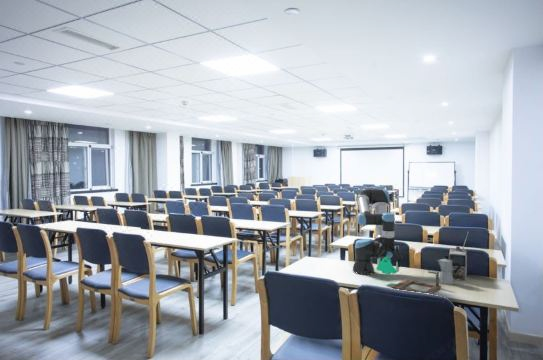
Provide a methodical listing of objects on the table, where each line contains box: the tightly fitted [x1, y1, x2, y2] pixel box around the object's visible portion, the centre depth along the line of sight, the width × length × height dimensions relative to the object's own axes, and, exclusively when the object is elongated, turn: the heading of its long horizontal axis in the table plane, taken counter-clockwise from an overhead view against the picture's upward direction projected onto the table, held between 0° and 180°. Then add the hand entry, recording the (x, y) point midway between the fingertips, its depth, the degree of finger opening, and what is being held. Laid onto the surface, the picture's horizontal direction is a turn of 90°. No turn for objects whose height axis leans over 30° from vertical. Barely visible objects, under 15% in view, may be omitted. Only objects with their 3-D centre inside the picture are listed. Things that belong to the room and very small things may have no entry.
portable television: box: [448, 231, 469, 281], centre depth 250 cm, size 12×24×30 cm, turn 152°
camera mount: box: [375, 257, 398, 275], centre depth 236 cm, size 12×8×10 cm, turn 50°
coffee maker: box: [436, 254, 461, 285], centre depth 236 cm, size 15×9×18 cm, turn 45°
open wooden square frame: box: [391, 270, 441, 295], centre depth 226 cm, size 22×21×10 cm
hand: (388, 269), depth 237 cm, fingers closed on camera mount, 12 cm apart
